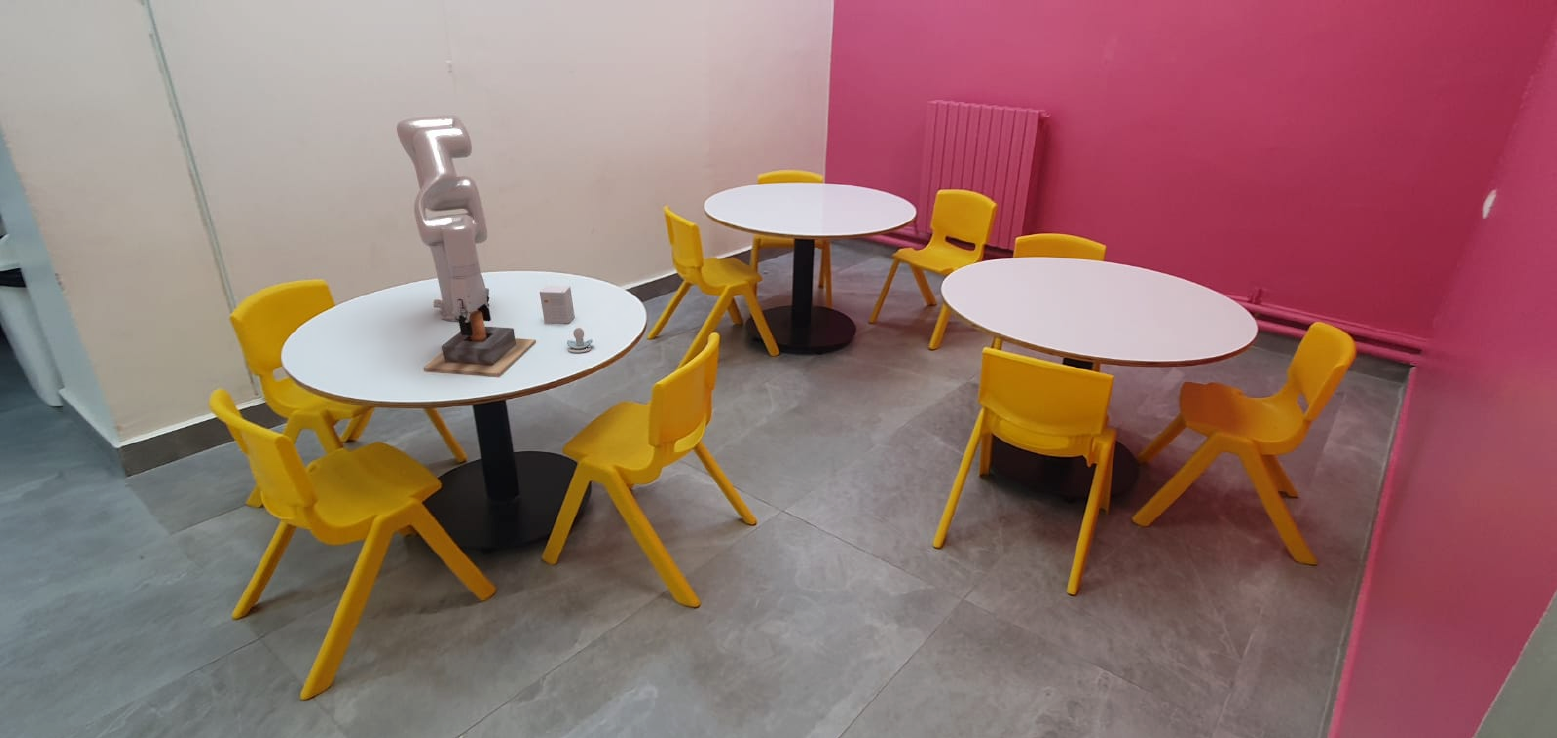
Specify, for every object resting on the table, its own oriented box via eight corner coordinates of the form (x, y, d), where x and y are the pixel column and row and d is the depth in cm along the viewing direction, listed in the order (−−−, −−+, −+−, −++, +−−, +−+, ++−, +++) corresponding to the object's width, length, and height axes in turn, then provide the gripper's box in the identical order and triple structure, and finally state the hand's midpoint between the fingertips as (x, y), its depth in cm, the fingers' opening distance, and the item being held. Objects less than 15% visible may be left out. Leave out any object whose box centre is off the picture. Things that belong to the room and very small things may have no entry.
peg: (471, 355, 208) (463, 315, 202) (478, 349, 211) (471, 310, 206) (484, 356, 207) (477, 316, 202) (491, 350, 211) (484, 311, 205)
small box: (575, 317, 235) (571, 286, 230) (569, 324, 230) (564, 292, 225) (550, 316, 235) (546, 285, 231) (544, 323, 231) (539, 291, 226)
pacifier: (591, 354, 212) (594, 344, 217) (589, 334, 209) (591, 325, 214) (565, 355, 211) (568, 345, 216) (562, 335, 208) (566, 326, 213)
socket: (424, 370, 201) (419, 350, 198) (466, 337, 221) (462, 319, 218) (500, 376, 198) (496, 356, 196) (536, 342, 218) (533, 323, 215)
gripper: (468, 258, 206) (479, 315, 214) (433, 279, 191) (447, 339, 198) (494, 259, 205) (504, 316, 213) (460, 280, 190) (473, 341, 197)
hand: (476, 327), depth 205 cm, fingers open, 9 cm apart
